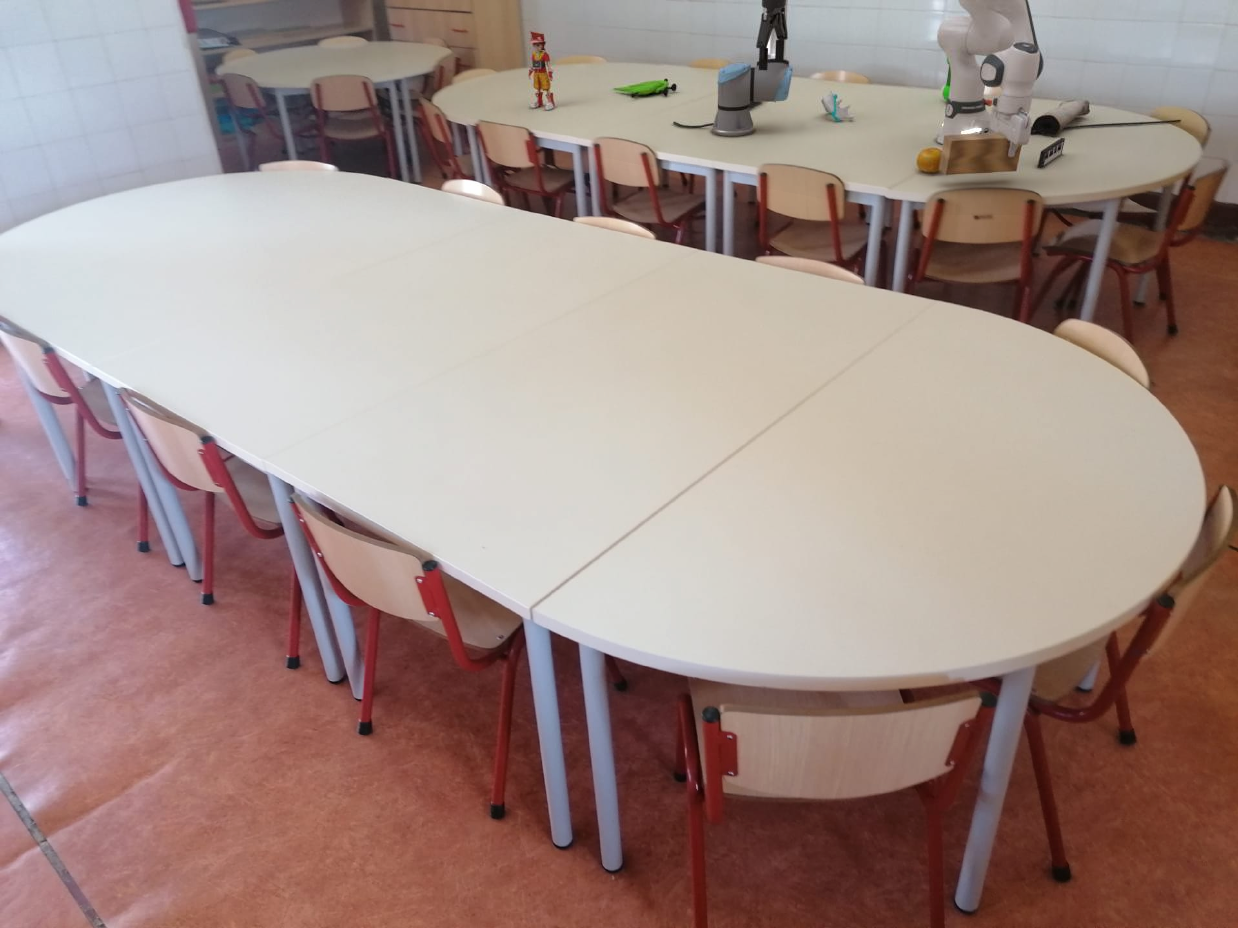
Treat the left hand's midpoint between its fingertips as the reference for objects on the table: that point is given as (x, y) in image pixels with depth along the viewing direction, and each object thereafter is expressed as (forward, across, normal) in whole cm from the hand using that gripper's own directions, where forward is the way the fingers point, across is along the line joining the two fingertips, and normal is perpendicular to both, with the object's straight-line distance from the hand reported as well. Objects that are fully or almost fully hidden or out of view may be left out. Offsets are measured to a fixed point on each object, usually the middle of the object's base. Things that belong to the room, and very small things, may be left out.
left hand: (771, 66), depth 293 cm
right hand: (+20, -1, -77) cm, 79 cm away
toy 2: (+29, +70, +90) cm, 117 cm away
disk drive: (+29, +61, +36) cm, 77 cm away
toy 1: (+29, +32, +117) cm, 124 cm away
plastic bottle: (+29, +92, -41) cm, 105 cm away
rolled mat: (+29, +69, -83) cm, 112 cm away
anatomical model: (+29, +55, -5) cm, 63 cm away
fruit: (+29, +1, -55) cm, 62 cm away
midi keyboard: (+29, +25, -87) cm, 95 cm away
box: (+25, -5, -70) cm, 75 cm away
